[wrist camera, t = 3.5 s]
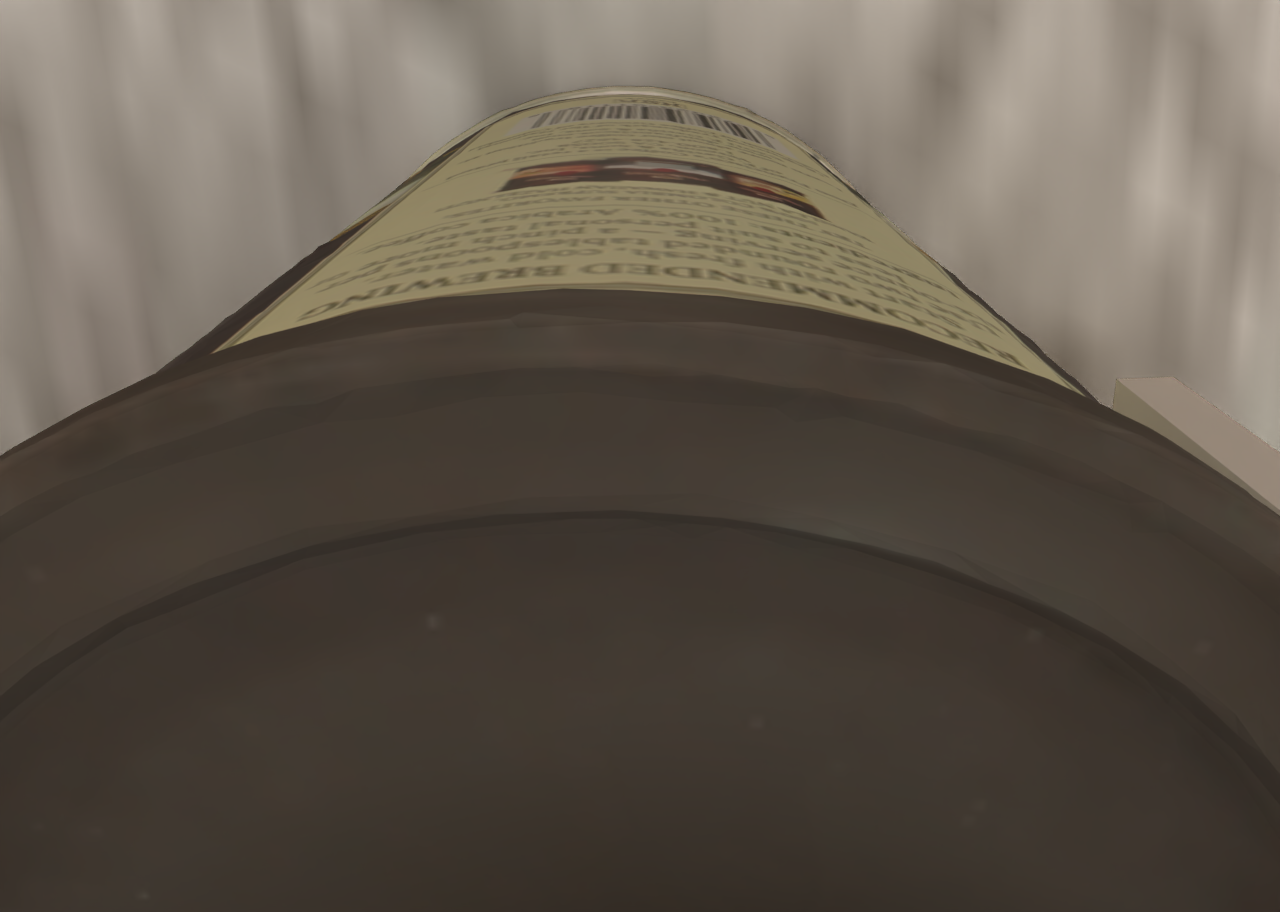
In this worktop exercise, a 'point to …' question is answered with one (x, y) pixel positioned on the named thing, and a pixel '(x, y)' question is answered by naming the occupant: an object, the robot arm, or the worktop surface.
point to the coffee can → (629, 575)
